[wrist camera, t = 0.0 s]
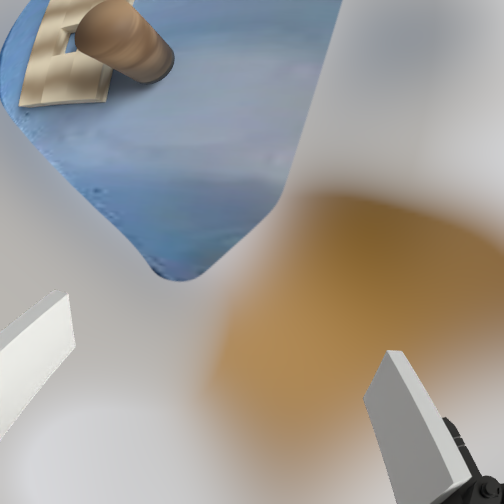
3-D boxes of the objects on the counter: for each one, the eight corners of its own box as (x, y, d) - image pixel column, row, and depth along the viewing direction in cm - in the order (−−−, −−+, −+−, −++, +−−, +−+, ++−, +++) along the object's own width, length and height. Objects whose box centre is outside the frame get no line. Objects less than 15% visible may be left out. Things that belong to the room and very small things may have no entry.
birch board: (60, 3, 27) (51, -3, 24) (139, -14, 27) (132, -23, 24) (30, 107, 33) (18, 106, 30) (105, 102, 33) (95, 98, 30)
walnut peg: (142, 48, 31) (85, 4, 16) (183, 48, 31) (141, -6, 16) (133, 88, 33) (67, 58, 18) (174, 89, 33) (122, 51, 18)
